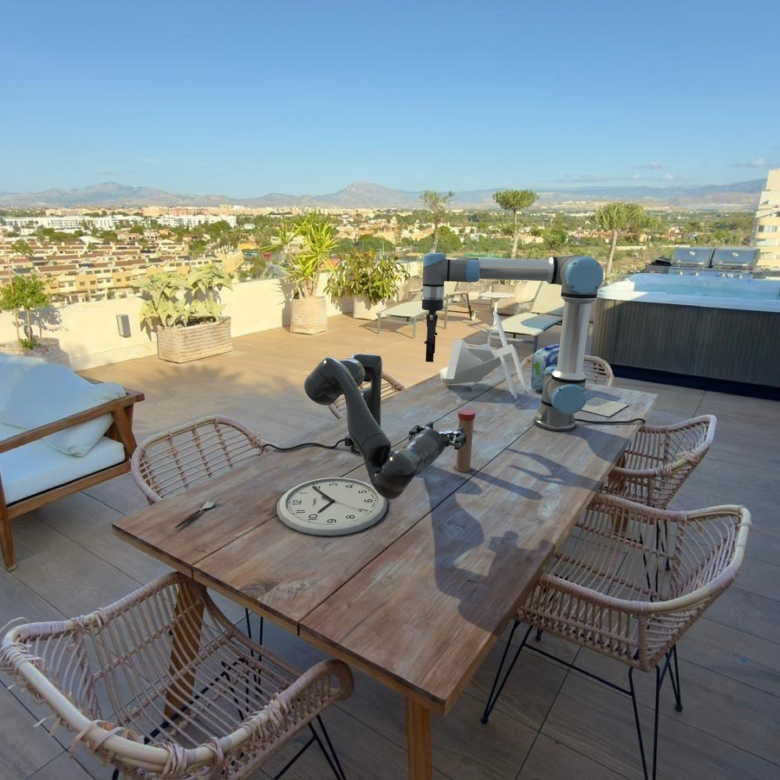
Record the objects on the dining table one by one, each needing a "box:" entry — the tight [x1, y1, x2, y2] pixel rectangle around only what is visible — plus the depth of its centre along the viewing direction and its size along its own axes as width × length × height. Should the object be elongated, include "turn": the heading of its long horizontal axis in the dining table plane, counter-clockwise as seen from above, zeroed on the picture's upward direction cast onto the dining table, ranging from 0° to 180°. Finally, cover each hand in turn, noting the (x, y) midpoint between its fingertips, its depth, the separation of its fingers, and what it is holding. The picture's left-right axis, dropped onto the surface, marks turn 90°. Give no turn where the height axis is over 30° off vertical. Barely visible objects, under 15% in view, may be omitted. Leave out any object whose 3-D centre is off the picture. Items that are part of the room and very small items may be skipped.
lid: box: [457, 408, 476, 420], centre depth 160 cm, size 5×5×2 cm
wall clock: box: [276, 476, 388, 537], centre depth 142 cm, size 30×2×30 cm
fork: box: [174, 492, 220, 529], centre depth 137 cm, size 3×16×2 cm, turn 160°
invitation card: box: [580, 396, 629, 418], centre depth 226 cm, size 21×1×15 cm
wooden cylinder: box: [455, 418, 475, 473], centre depth 163 cm, size 4×4×19 cm
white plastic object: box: [438, 310, 531, 400], centre depth 245 cm, size 37×45×31 cm
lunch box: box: [530, 343, 560, 392], centre depth 248 cm, size 26×11×21 cm, turn 134°
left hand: (446, 427), depth 141 cm, fingers open, 8 cm apart
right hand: (430, 357), depth 190 cm, fingers open, 13 cm apart
